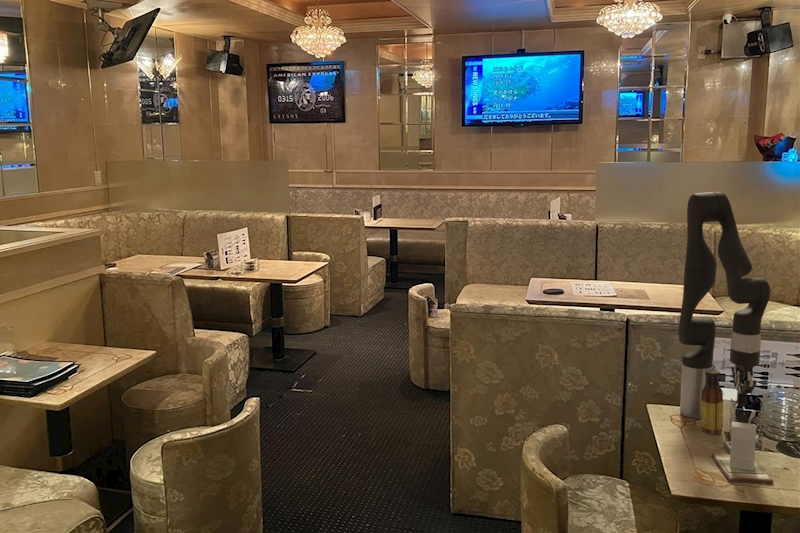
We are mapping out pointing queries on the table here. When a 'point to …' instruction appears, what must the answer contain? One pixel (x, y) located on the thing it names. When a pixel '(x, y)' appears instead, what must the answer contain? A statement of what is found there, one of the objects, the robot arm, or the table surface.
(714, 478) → the table surface
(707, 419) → the sauce bottle
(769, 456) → the table surface
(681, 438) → the table surface
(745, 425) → the skincare box
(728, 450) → the button housing
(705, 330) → the robot arm
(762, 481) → the beige flat rectangular slab
